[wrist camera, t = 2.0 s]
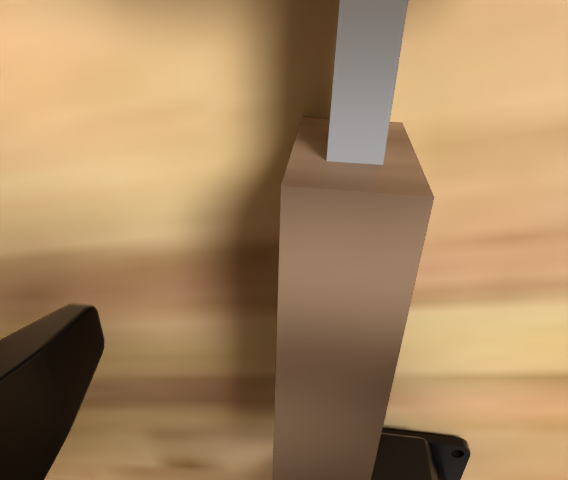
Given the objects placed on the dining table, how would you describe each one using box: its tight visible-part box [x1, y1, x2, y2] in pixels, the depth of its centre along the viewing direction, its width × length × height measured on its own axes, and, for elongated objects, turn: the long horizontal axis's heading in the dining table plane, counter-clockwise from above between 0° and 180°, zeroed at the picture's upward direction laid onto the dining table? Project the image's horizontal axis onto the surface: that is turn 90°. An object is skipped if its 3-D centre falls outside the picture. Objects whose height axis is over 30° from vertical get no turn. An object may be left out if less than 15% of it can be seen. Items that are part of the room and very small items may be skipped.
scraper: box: [273, 0, 434, 480], centre depth 11 cm, size 17×8×5 cm, turn 178°
